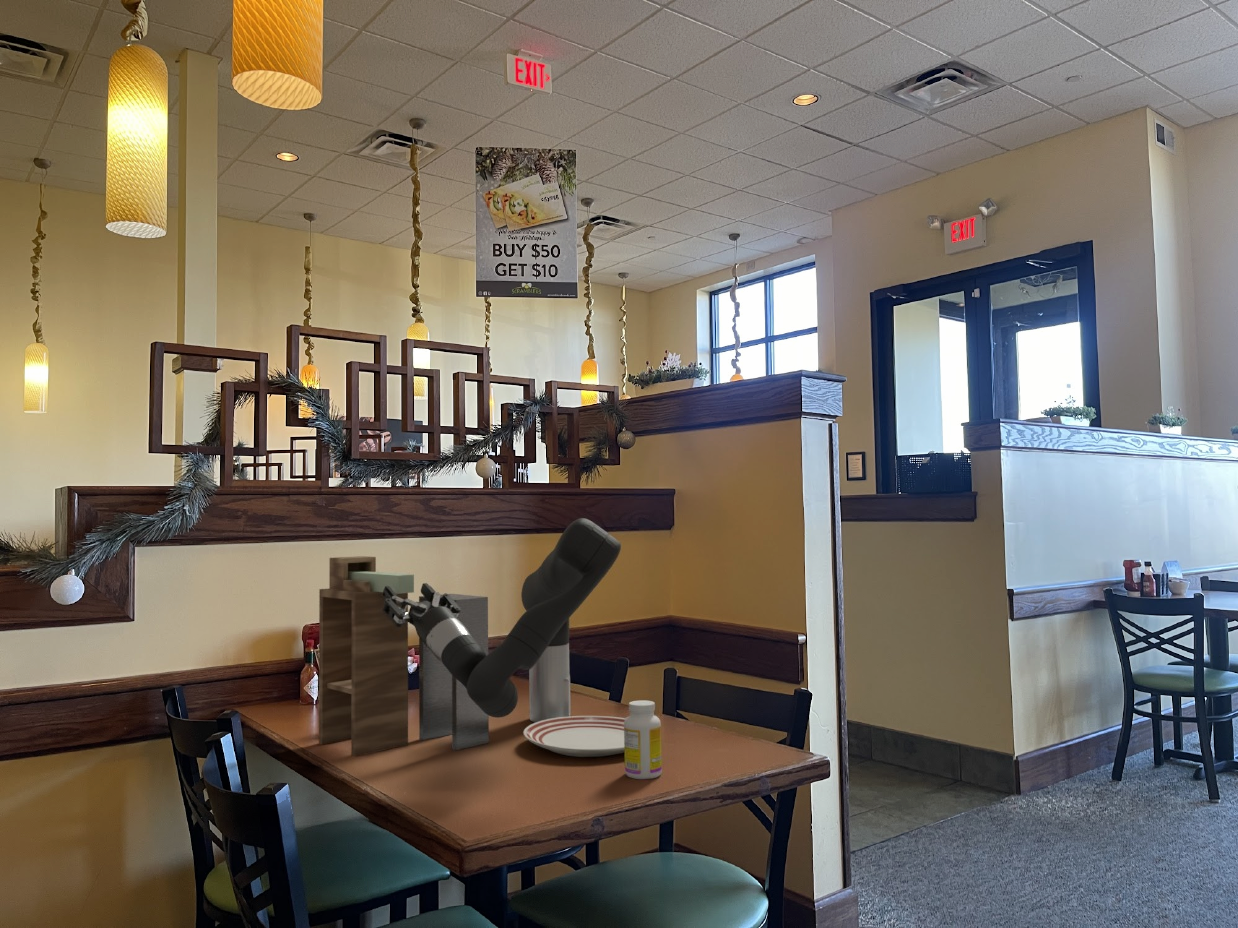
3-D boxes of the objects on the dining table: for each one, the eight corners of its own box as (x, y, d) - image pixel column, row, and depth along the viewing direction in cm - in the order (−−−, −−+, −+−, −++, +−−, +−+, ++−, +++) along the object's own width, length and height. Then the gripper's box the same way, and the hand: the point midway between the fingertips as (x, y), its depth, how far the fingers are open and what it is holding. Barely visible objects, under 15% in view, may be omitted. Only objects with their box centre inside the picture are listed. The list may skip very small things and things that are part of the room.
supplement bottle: (660, 769, 166) (659, 698, 166) (663, 779, 159) (662, 706, 160) (623, 770, 165) (622, 699, 166) (625, 780, 159) (624, 706, 159)
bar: (413, 592, 179) (413, 574, 179) (398, 593, 176) (398, 575, 176) (357, 587, 194) (357, 570, 194) (342, 588, 192) (342, 571, 192)
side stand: (488, 742, 187) (487, 596, 188) (456, 750, 181) (456, 599, 183) (450, 732, 196) (450, 593, 198) (419, 739, 190) (419, 596, 192)
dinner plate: (670, 733, 194) (670, 717, 194) (639, 768, 167) (639, 750, 167) (550, 726, 201) (550, 711, 201) (502, 759, 175) (501, 742, 175)
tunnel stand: (408, 744, 186) (407, 557, 188) (355, 756, 178) (355, 560, 180) (370, 732, 197) (370, 555, 199) (318, 743, 188) (319, 558, 190)
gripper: (482, 615, 172) (440, 570, 182) (418, 623, 161) (377, 574, 172) (470, 648, 174) (429, 601, 184) (406, 657, 164) (366, 607, 174)
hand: (404, 588), depth 178 cm, fingers open, 8 cm apart
